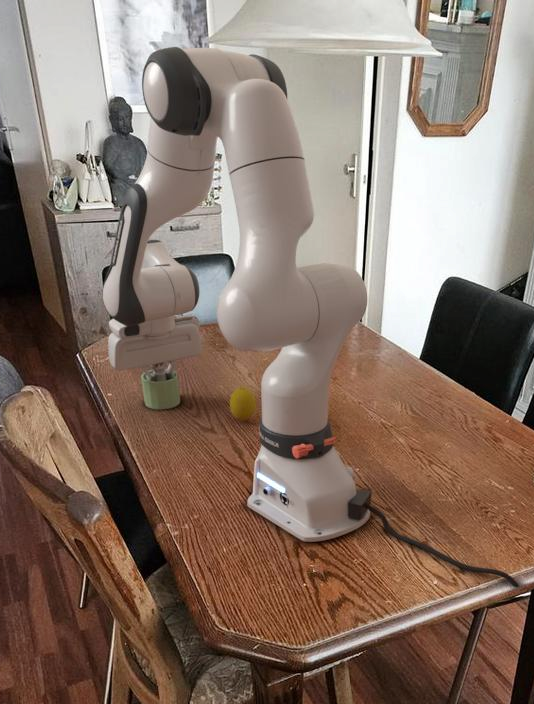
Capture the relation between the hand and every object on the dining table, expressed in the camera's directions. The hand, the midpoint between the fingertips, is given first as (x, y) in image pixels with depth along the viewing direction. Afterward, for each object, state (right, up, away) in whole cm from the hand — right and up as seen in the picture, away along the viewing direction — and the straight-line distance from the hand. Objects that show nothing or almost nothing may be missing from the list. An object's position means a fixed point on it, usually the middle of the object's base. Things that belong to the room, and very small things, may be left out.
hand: (160, 380), depth 141 cm
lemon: (+19, -10, -4) cm, 22 cm away
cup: (0, -4, +3) cm, 5 cm away
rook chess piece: (0, -3, +2) cm, 4 cm away
